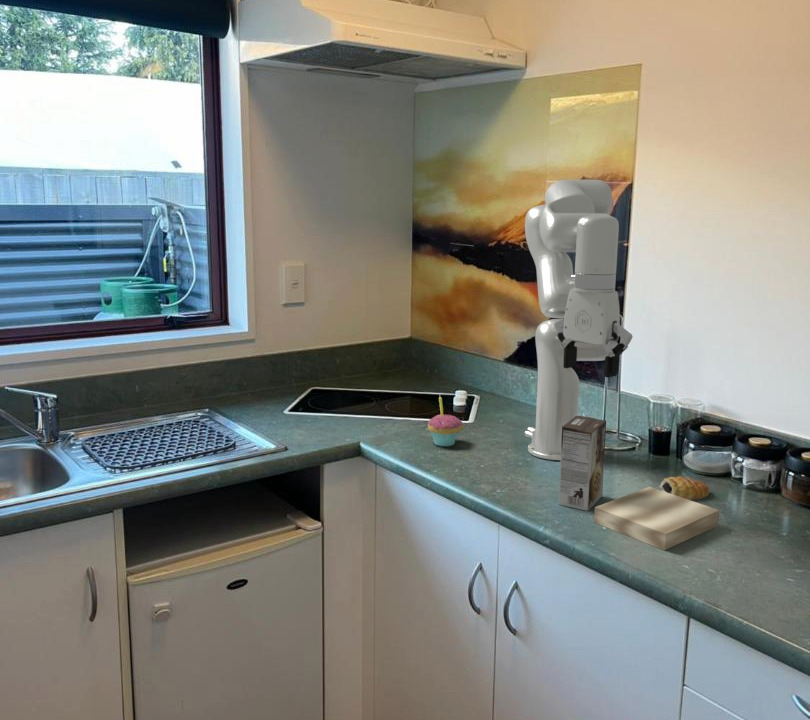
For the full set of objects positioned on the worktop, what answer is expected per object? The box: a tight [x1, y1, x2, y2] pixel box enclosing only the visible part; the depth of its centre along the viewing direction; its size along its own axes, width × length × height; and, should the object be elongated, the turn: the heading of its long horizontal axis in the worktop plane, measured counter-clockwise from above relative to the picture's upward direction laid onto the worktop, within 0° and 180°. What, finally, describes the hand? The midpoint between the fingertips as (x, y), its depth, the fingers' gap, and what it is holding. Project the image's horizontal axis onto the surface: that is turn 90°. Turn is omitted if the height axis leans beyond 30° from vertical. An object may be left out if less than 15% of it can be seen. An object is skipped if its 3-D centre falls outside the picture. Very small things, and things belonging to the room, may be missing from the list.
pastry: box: [659, 476, 710, 501], centre depth 162 cm, size 9×7×4 cm
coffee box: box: [558, 415, 607, 512], centre depth 157 cm, size 9×6×16 cm
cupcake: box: [427, 393, 464, 447], centre depth 193 cm, size 9×8×12 cm
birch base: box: [593, 486, 721, 551], centre depth 148 cm, size 15×17×3 cm
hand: (589, 371), depth 153 cm, fingers open, 9 cm apart
